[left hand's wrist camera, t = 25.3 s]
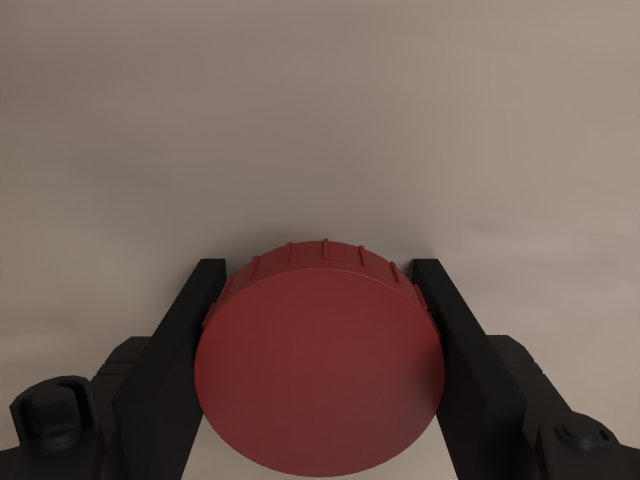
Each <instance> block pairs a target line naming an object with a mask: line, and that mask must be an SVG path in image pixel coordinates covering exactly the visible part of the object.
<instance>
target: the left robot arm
mask: <svg viewBox="0 0 640 480" xmlns="http://www.w3.org/2000/svg"><path fill="white" fill-rule="evenodd" d="M226 282H227V277H226V264H225V259H201V260H200V262H199V263H198V265H197V266H196V268H195V270H194V271H193V273H192V274H191V276H190V277H189V279H188V280H187V282H186V284H185V285H184V287H183V288H182V290H181V291H180V293H179V295H178V296H177V298H176V299H175V301H174V302H173V304H172V306H171V307H170V309H169V310H168V312H167V313H166V315H165V317H164V318H163V320H162V321H161V323H160V324H159V326H158V328H157V329H156V331H155V332H154V334H153V335H152V337H130V338H129V339H127V340H126V341H125V342H123V343H122V344H120V345H119V346H117V347H116V348H115V349H114V350H113V352H112V353H111V354H110V356H109V357H108V358H107V360H106V361H105V364H103V365H102V366H101V368H100V369H99V370H98V372H97V375H96V376H94V377H93V378H92V380H91V381H89V380H87V379H86V378H84V377H79V376H75V375H72V376H59V377H56V378H52V379H48V380H44V381H42V382H40V383H38V384H36V385H34V386H32V387H29V388H28V389H27V390H25V391H24V392H23V393H21V394H20V395H18V396H17V397H16V398H15V400H14V401H13V402H12V404H11V405H10V406H9V408H10V411H11V415H12V418H13V421H14V425H15V428H16V432H17V435H18V438H19V442H20V446H18V447H14V448H11V449H7V450H3V451H0V480H181V478H182V475H183V472H184V469H185V466H186V463H187V460H188V457H189V454H190V452H191V449H192V446H193V443H194V440H195V437H196V434H197V431H198V428H199V425H200V422H201V419H202V417H203V414H204V413H203V411H202V408H201V406H200V404H199V401H198V397H197V394H196V390H195V383H194V359H195V354H196V349H197V346H198V343H199V340H200V337H201V335H202V333H203V329H201V326H202V324H203V322H204V320H205V318H206V316H207V314H208V311H209V309H210V307H211V305H212V303H216V302H217V300H218V298H219V296H220V294H221V292H222V290H223V288H224V286H225V284H226ZM415 284H416V285H417V286H418V288H419V290H420V292H421V295H422V297H423V299H424V301H425V304H426V306H427V308H428V309H426V310H427V312H430V313H431V315H432V317H433V319H434V321H435V324H436V326H437V328H438V330H439V332H440V335H441V338H442V339H439V340H440V342H441V345H442V349H443V353H444V358H445V369H446V375H445V384H444V391H443V395H442V399H441V402H440V404H439V407H438V409H437V412H436V416H437V419H438V422H439V425H440V428H441V431H442V434H443V437H444V440H445V443H446V446H447V449H448V451H449V454H450V457H451V460H452V463H453V466H454V469H455V472H456V475H457V478H458V480H640V449H636V448H632V447H628V446H625V445H621V444H620V443H619V441H618V440H617V438H616V437H615V435H614V434H613V433H612V432H611V431H610V430H609V429H608V428H606V427H605V426H604V425H603V424H602V423H600V422H598V421H596V420H594V419H593V418H591V417H589V416H587V415H584V414H580V413H577V412H574V411H572V410H571V409H570V407H569V406H568V405H567V403H566V402H565V401H564V399H563V398H562V397H561V395H560V394H559V393H558V391H557V390H556V389H555V387H554V386H553V385H552V383H551V382H550V380H549V379H548V378H547V376H546V375H545V374H543V373H542V370H541V368H540V367H539V366H538V364H537V363H534V359H533V358H532V356H531V355H530V354H529V352H528V351H527V350H526V348H525V347H524V346H523V345H521V344H520V343H518V342H517V341H515V340H514V339H512V338H511V337H510V336H508V335H486V334H485V332H484V331H483V329H482V328H481V326H480V324H479V323H478V321H477V320H476V318H475V317H474V315H473V313H472V312H471V310H470V309H469V307H468V306H467V304H466V302H465V301H464V299H463V298H462V296H461V295H460V293H459V292H458V290H457V288H456V287H455V285H454V284H453V282H452V281H451V279H450V277H449V276H448V274H447V273H446V271H445V270H444V268H443V266H442V265H441V263H440V262H439V260H438V259H414V265H413V277H412V285H415Z"/></svg>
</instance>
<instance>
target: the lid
mask: <svg viewBox="0 0 640 480" xmlns="http://www.w3.org/2000/svg"><path fill="white" fill-rule="evenodd" d="M426 309H428V308H427V306H426V304H425V301H424V299H423V297H422V295H421V292H420V290H419V288H418V286H417V285H416V284H415V285H412V283H411V282H410V281H409V280H408V278H407V277H406V276H405V275H404V274H403V273H402V272H401V271H400V270H398V269H397V267H396V265H395V263H394V262H393V261H391V262H390V263H389V262H388V261H387V260H385V259H384V258H382V257H380V256H378V255H376V254H374V253H372V252H370V251H367V250H365V249H364V246H361V245H360V246H359V247H357V246H353V245H348V244H344V243H338V242H329V241H328V239H324V240H323V241H309V242H301V243H294V244H291V242H288V243H287V245H286V246H283V247H279V248H277V249H274V250H272V251H270V252H267V253H265V254H263V255H261V256H259V257H258V255H256V256H254V258H253V260H252V261H251V262H250V263H248V264H247V265H246V266H245V267H243V268H242V269H241V270H240V271H239V272H238V273H237V274H236V275H235V276H234V277H231V276H230V277H229V278H228V279H227V282H226V284H225V286H224V288H223V290H222V292H221V294H220V296H219V298H218V300H217V302H216V303H212V305H211V307H210V309H209V311H208V314H207V316H206V318H205V320H204V322H203V324H202V326H201V329H203V333H202V335H201V337H200V340H199V343H198V346H197V349H196V354H195V359H194V383H195V390H196V394H197V397H198V401H199V404H200V406H201V408H202V411H203V413H204V415H205V417H206V418H207V420H208V421H209V423H210V424H211V426H212V428H213V429H214V430H215V431H216V432H217V433H218V435H219V436H220V437H221V438H222V439H223V440H224V441H225V442H226V443H227V444H228V445H230V446H231V447H232V448H233V449H234V450H236V451H237V452H239V453H240V454H242V455H243V456H245V457H246V458H248V459H250V460H252V461H254V462H255V463H257V464H260V465H262V466H265V467H267V468H270V469H273V470H276V471H279V472H283V473H287V474H292V475H297V476H307V477H333V476H342V475H348V474H352V473H357V472H361V471H364V470H367V469H370V468H373V467H375V466H377V465H380V464H382V463H384V462H386V461H388V460H390V459H391V458H393V457H395V456H396V455H398V454H400V453H401V452H402V451H404V450H405V449H406V448H408V447H409V446H410V445H411V444H412V443H413V442H414V441H415V440H416V439H417V438H418V437H419V436H420V435H421V434H422V433H423V432H424V430H425V429H426V428H427V427H428V425H429V424H430V422H431V420H432V419H433V417H434V415H435V414H436V412H437V409H438V407H439V404H440V402H441V399H442V395H443V391H444V384H445V375H446V369H445V358H444V353H443V349H442V345H441V342H440V340H439V339H442V338H441V335H440V332H439V330H438V328H437V326H436V324H435V321H434V319H433V317H432V315H431V313H430V312H427V310H426Z"/></svg>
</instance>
